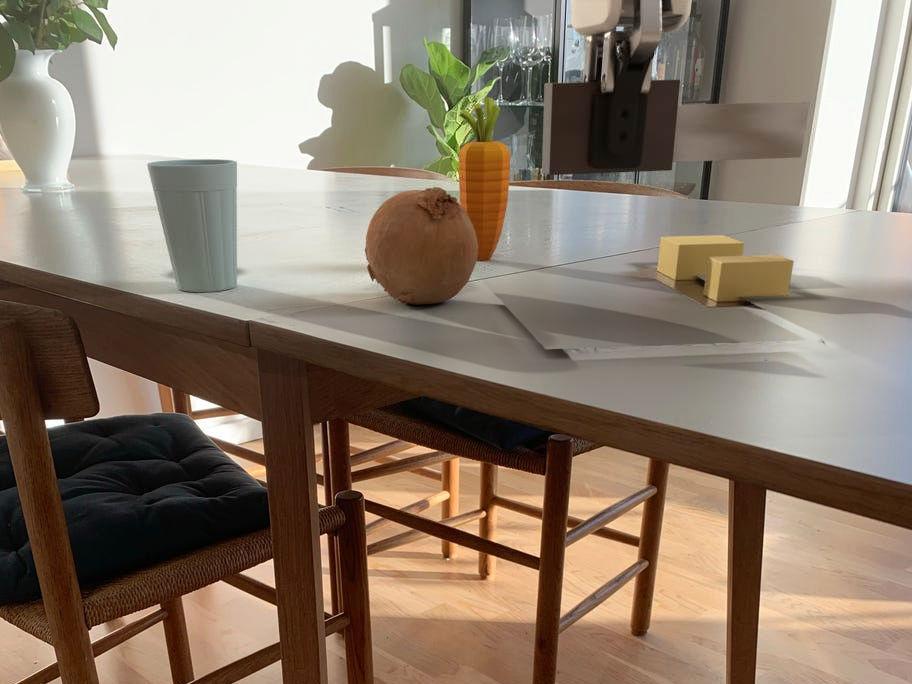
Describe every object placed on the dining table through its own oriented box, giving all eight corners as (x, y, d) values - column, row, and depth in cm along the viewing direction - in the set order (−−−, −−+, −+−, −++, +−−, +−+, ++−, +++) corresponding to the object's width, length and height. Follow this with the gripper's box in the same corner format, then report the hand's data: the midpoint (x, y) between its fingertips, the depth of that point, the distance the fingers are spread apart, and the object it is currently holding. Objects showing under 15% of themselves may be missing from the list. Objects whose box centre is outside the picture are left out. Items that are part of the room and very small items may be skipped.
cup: (175, 279, 91) (159, 158, 86) (255, 279, 91) (243, 158, 86) (156, 295, 85) (136, 165, 79) (241, 294, 85) (228, 165, 79)
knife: (791, 162, 63) (805, 75, 60) (806, 165, 61) (821, 75, 59) (541, 172, 61) (544, 83, 59) (549, 175, 60) (552, 83, 57)
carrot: (481, 273, 93) (484, 97, 85) (448, 267, 96) (448, 97, 88) (517, 267, 96) (523, 97, 88) (483, 262, 99) (486, 96, 91)
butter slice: (771, 292, 79) (777, 254, 78) (787, 299, 77) (794, 260, 75) (702, 295, 79) (707, 256, 77) (716, 302, 76) (722, 262, 75)
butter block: (718, 269, 89) (723, 235, 88) (739, 278, 85) (744, 242, 84) (657, 271, 89) (660, 236, 87) (675, 280, 84) (679, 244, 83)
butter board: (726, 274, 91) (727, 266, 91) (813, 313, 76) (814, 303, 75) (635, 277, 90) (636, 268, 90) (705, 317, 75) (706, 306, 74)
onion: (459, 342, 81) (501, 235, 74) (352, 316, 78) (385, 202, 71) (452, 281, 87) (490, 176, 80) (352, 255, 84) (382, 144, 77)
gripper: (768, -254, 45) (710, 175, 54) (659, -175, 59) (628, 157, 68) (614, -260, 44) (583, 177, 53) (540, -178, 58) (525, 158, 67)
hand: (608, 163), depth 61 cm, fingers closed on knife, 2 cm apart
